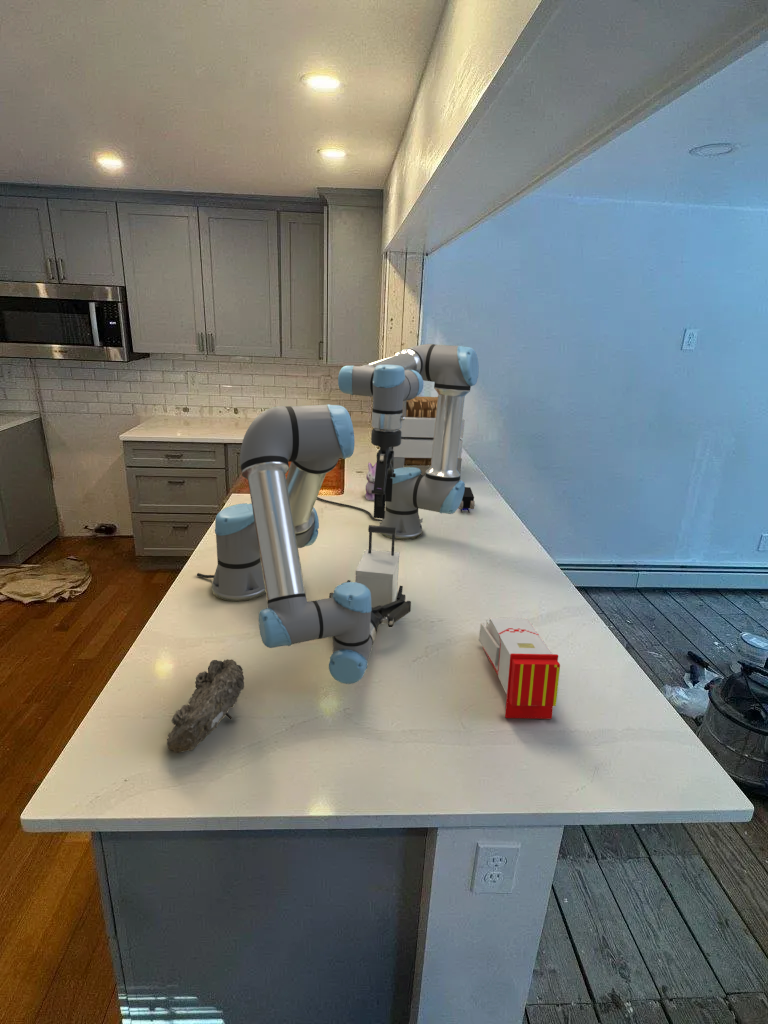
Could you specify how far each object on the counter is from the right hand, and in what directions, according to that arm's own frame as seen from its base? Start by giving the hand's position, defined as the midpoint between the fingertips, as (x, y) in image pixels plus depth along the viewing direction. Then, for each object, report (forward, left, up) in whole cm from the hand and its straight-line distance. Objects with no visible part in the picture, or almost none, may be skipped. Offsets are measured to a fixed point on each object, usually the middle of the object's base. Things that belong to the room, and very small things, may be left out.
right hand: (383, 509), depth 149 cm
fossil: (+19, -58, -25) cm, 65 cm away
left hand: (+6, -7, -18) cm, 20 cm away
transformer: (-83, +96, -25) cm, 129 cm away
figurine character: (-35, +74, -25) cm, 86 cm away
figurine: (-66, +53, -25) cm, 88 cm away
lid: (+3, -3, -14) cm, 15 cm away
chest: (+3, -4, -25) cm, 26 cm away
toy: (+46, -1, -25) cm, 52 cm away
